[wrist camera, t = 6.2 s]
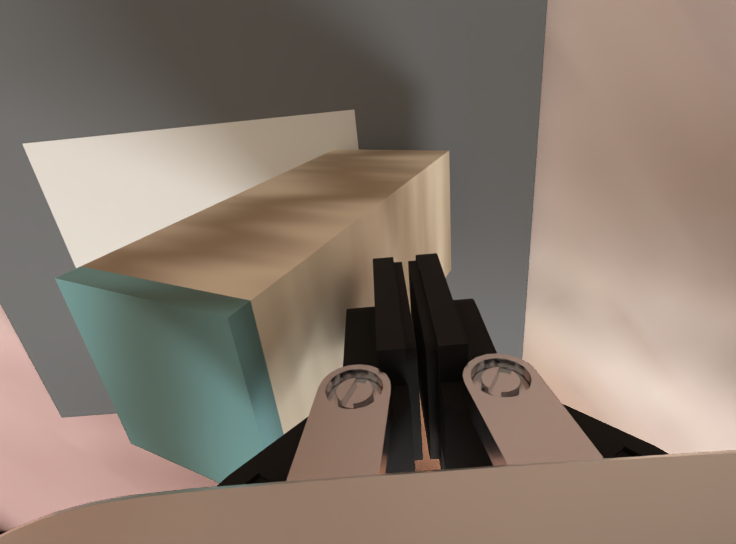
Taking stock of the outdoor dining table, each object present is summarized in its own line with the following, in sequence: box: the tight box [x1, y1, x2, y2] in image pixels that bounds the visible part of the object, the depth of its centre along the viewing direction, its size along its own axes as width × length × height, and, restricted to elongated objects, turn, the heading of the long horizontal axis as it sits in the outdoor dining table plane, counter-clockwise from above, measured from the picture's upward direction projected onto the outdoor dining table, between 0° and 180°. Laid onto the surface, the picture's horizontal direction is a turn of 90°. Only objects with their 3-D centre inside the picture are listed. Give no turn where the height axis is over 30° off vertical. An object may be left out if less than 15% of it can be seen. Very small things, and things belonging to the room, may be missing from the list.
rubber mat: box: [0, 0, 547, 417], centre depth 21 cm, size 26×22×1 cm
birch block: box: [55, 149, 451, 483], centre depth 15 cm, size 5×5×12 cm
